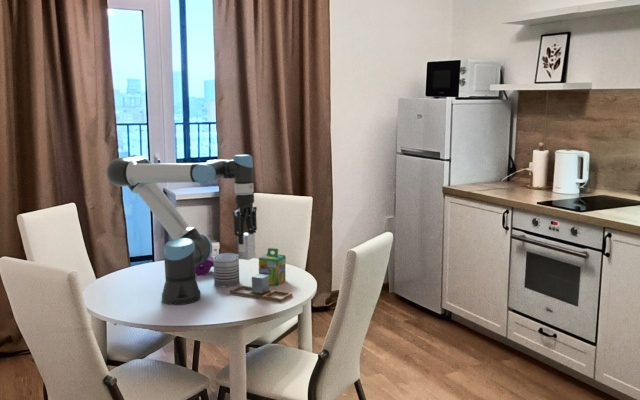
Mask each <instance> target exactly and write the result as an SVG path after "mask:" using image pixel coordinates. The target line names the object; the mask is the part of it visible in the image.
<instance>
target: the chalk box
mask: <svg viewBox="0 0 640 400" xmlns="http://www.w3.org/2000/svg"><path fill="white" fill-rule="evenodd" d="M271 252H274V253H271ZM278 253H279V249H278V248H274V247H273V248H271V247H269V248H268V249H267V253H266V254H263V255H262V256H260V257H258V274H264V275H269V286H275V285H276V286H277V287H278V286H280V284H282V283H284V282H285V281H286V258H287V257H286V255H285V254H278Z"/></svg>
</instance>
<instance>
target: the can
mask: <svg viewBox="0 0 640 400" xmlns="http://www.w3.org/2000/svg"><path fill="white" fill-rule="evenodd" d="M212 257H213V260H214V267H213V283H214V286H217V287H223V288H225V287H226V288H229V287H235V286H237V285H240V261H239V260H240V259H238V253H233V252H224V253H219V254H216V255H215V256H212Z"/></svg>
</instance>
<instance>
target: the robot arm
mask: <svg viewBox="0 0 640 400" xmlns="http://www.w3.org/2000/svg"><path fill="white" fill-rule="evenodd" d="M106 176H107V179H108V181H109V182H110V183H111V184H112V185H114V186H116V187H128V188H129V191H131V193H133V194H138V196H139V197H140V198H141V199H142V201H143V202H144V204H146V207H148V209H149V210H150V211H151V212H152V214H153V215H154V216H155V218H156V219H157V220H158V222H159V223H160V224H161V226H162V227H163V228H164V230H165V231H166V232H167V233H168V235H169V236H170V238H172V240H169V241H167V242H166V243H165V244H164V246H163V247H164V249H163V250H164V251H163V255H164V256H163V257H164V258H163V259H164V274H165V275H164V276H165V283H164V285H163V289H162V290H163V291H162V292H161V301H162V303H164V304H167V305H168V304H169V305H174V306H175V305H178V306H179V305H187V304H191V303H195V302H198V301H199V300H200V299H201V298H202V295H201V290H200V288H199V284H198V282H197V278H196V274H195V267H196V266H197V265H199V264H201V263H203V262H205V261H206V260H207V259H208V258H209V257H210V256H212V253H213V243H212V241H211V239H210V238H209V237H208V236H207V235H205V234H203V233H200V232H199V231H198V229H197V228H196V227H193V226H190V225H189V223H188V222H187V221H186V220H185V219H184V217H183V216H182V214H181V213H180V212H179V210H178V209H177V208H176V207H175V205H174V203H173V202H171V200H170V199H169V198H168V196H167V195H166V194H165V193H164V191H163V190H162V188H161V187H160V186H159V183H160V184H161V183H162V184H163V183H166V184H167V183H197V184H201V185H204V184H205V185H206V184H209V183H212V182H214V181H218V180H222V179H225V180H226V179H230V180H233V179H234V193H235V195H234V201H235V204H236V205H237V207H236V208H237V209H236V210H233V211H232V215H233V226H234V228H233V230H234V231H233V232H234V233H233V234H234V236H236V237H237V236H238V240H239V252H246V243H245V236H244V232H245V230H247V233H255V234H256V233H257V229H258V227H257V208H258V207H257V206H255V205H254V206H253V204H254V203H255V194H254V192H255V191H254V187H255V185H254V164H253V156H252V155H250V154H235V155H234V156H233V159H209V160H206V162H183V163H182V162H179V163H178V162H173V163H172V162H171V163H170V162H169V163H167V162H166V163H164V162H163V163H157V162H155V163H152V162H151V161H150V160H149V159H148V157H145V156H143V155H135V154H134V155H129V156H124V157H117V158H115V159H113V160H111V161H110V162H109V164H108V165H107V168H106ZM245 227H246V228H247V229H245ZM238 240H237V241H238Z"/></svg>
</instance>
